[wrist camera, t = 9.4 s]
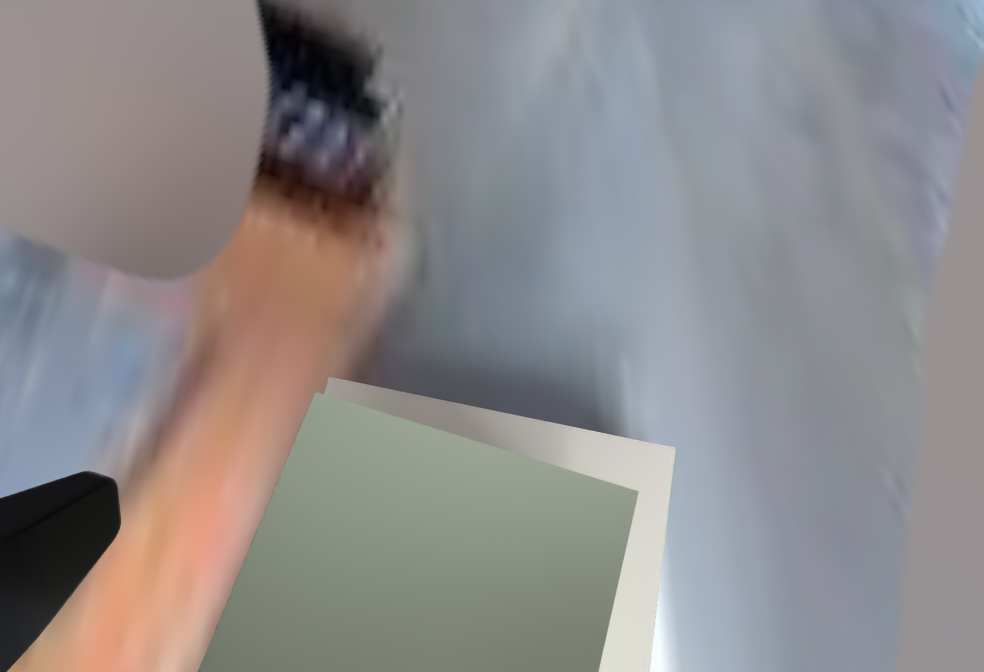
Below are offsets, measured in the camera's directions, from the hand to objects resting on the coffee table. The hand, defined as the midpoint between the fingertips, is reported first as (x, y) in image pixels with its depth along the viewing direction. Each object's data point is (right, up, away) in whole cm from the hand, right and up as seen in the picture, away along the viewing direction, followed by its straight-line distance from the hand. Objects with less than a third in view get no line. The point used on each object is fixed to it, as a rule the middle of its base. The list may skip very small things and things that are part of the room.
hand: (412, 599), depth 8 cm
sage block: (0, -3, +8) cm, 8 cm away
